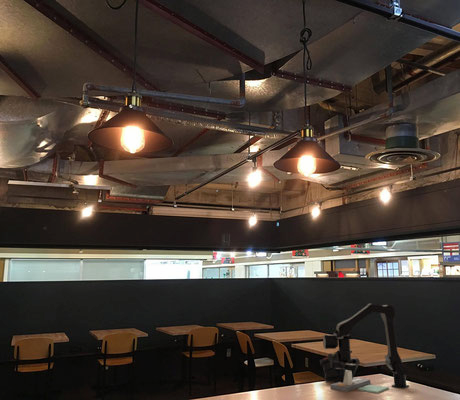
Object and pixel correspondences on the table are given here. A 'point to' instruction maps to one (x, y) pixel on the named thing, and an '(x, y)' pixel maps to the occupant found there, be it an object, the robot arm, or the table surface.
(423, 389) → the table surface
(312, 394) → the table surface
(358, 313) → the robot arm
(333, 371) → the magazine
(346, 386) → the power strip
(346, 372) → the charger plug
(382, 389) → the green mat
